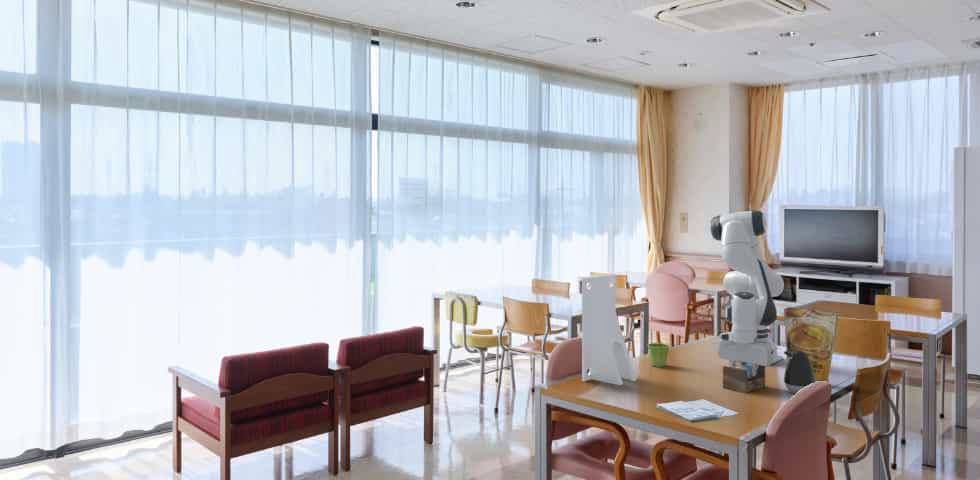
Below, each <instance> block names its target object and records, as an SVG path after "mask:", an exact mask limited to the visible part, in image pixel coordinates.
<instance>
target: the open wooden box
mask: <svg viewBox="0 0 980 480" xmlns="http://www.w3.org/2000/svg"><path fill="white" fill-rule="evenodd" d="M740 363H741V364H740V366H742V365H746V364H750V363H744V362H740ZM765 387H766V366H762V365H759V367H758V368H757V375H756V377H754V378H751V379H748V380H747V370H744V369H738V368H733V367H732V366H728V365H727V366H726V365H723V366H722V389H726V390H731V391H734V390H735V392H739V391H740V392H741V393H749V392H752V391H754V390H758V389H762V388H765Z"/></svg>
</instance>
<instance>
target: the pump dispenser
mask: <svg viewBox="0 0 980 480" xmlns="http://www.w3.org/2000/svg"><path fill="white" fill-rule="evenodd" d="M783 353H784V355H786V357H787V356H789V357H790V358H789V360H788V363H787V362H786V365H785V370H784V376H783V382H784V385H785V388H786V389H787V390H788V391H789V392H790V393H791V394H794V395H796V394H795V393H797V392H798V391H799V390H800V389H802V388H804V387H805V386H807V385H809V384H811V383H814V382H815V377H814V371H813V367H812V364H811V362H810V359H809V357H808V355H807V354H806V353H805V352H803V351H800V350H798V351H795V352H793V353H792V354H791V353H789V352H787V351H784V352H783Z"/></svg>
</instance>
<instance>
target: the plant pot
mask: <svg viewBox="0 0 980 480" xmlns="http://www.w3.org/2000/svg"><path fill="white" fill-rule="evenodd" d="M647 347H648V351H649V357H650V359H649V360H650V364H651V365H650V366H654V367H659V368H662V367H666V366H667V362H668V361H667V360H668V356H669V355H668V354H669V349H670V348H671V345H670V344H667V343H661V342H659V343H658V342H653V343H647Z"/></svg>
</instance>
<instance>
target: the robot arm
mask: <svg viewBox="0 0 980 480" xmlns="http://www.w3.org/2000/svg"><path fill="white" fill-rule="evenodd" d="M767 226H768V222H767V218H766V216H765V214H764V213H763V212H762V211H761V210H752V211H746V210H745V211H735V212H733V213H732V212H731V213H727V214H722V215H721V214H720V215H719V214H718V215H716V216H714V217H712V219H711V220H710V222H709V231H710V235H711V236H712V238H713V239H714V240H716V241H720V249H721V251H720V252H721V257H722V258H721V259H722V261H723V263H724V264H725V265H726V266H727V267H728V268H729V269H731V270H732V271H728V272H727V273H726V274H725V275H724V278H723V280H722V281H723V282H722V283H723V284H722V285H723V288H724V290H725V291H726V292H727V294H729V295H730V296H731V297H732V299H729V300H728V301H727V302H726V303H725V305H724V319H725V320H726V321H727V322H729V324H731V325H732V326H731V331H728V332H723V333H720V334H719V336H718V338H719V341H718V343H717V356H718V358H719V359H721V360H726V361H727V360H728V361H729V364H730V367H733V368H734V367H738V366H737V362H740V363H741V362H744V363H750V364H752V367H753V369H752V370H751V371H749V373H750V376H755V375H756V370H757V368H758V367H759V365H762V366H765V367H767V366H770V365H772V364H775V363H777V362H779V361H781V360H783V359H784V357H783V355H780V354H778V346H777V345H776V343H775V342H774V341H773V340H772V339H770V337H769V336H770V334H771V333H772V328H767V327H769V326H771V325H773V323H774V322H775V321H776V320H777V318H778V312H777V307H776V304H775V301H774V299H773V297H779V296H780V295H781V294H782V293H783V290H784V288H785V283H784V279H783V277H782V276H781V274H779V273H777V272H775V271H774V270H773V269H772V268H770V266H769V265H768V264H767V263H766V261H765V260H764V257H763V255H762V251H761V247H760V242H759V236H762V235H763V234H764V233H765V232H767V231H766V229H767V228H768V227H767ZM756 297H757V298H758V299H757V298H756Z"/></svg>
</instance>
